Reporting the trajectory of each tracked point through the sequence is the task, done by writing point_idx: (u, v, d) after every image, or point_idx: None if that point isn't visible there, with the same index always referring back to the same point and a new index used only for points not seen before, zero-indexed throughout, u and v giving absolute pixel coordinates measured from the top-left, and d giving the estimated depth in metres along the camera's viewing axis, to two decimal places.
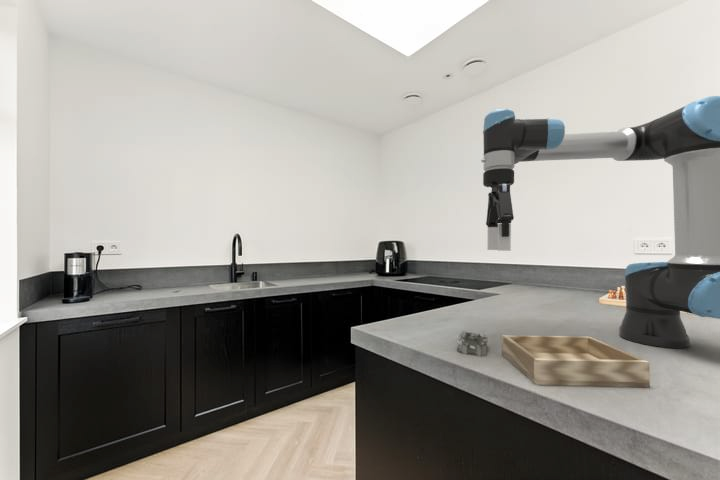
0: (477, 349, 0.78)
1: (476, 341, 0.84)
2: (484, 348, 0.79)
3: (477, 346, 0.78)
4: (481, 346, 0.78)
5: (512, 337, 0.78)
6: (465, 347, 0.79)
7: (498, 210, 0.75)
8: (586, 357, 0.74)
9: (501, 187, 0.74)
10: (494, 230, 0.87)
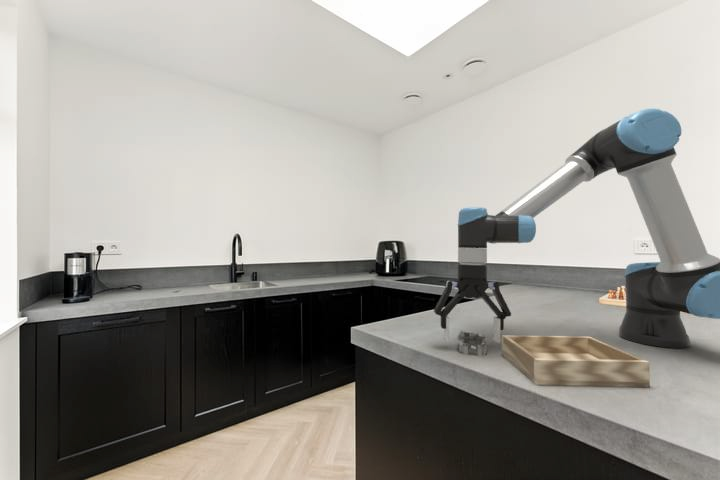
0: (478, 349, 0.78)
1: (475, 341, 0.84)
2: (485, 348, 0.79)
3: (478, 346, 0.78)
4: (482, 346, 0.78)
5: (512, 337, 0.78)
6: (466, 347, 0.79)
7: (448, 303, 0.85)
8: (586, 357, 0.74)
9: (446, 283, 0.85)
10: (496, 321, 0.83)
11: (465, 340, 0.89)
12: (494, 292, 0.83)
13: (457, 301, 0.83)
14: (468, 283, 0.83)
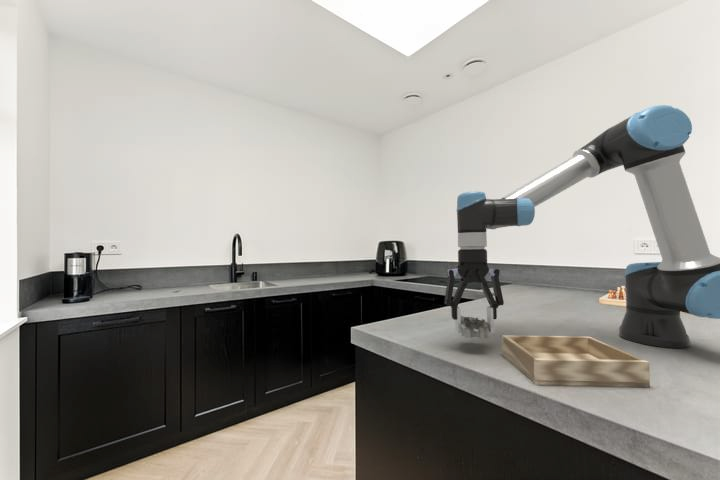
0: (480, 332, 0.78)
1: (476, 325, 0.84)
2: (487, 330, 0.79)
3: (480, 329, 0.78)
4: (484, 328, 0.79)
5: (512, 337, 0.78)
6: (468, 330, 0.79)
7: (455, 293, 0.85)
8: (586, 357, 0.74)
9: (447, 273, 0.85)
10: (489, 311, 0.83)
11: (465, 325, 0.89)
12: (492, 279, 0.83)
13: (463, 288, 0.83)
14: (468, 266, 0.83)
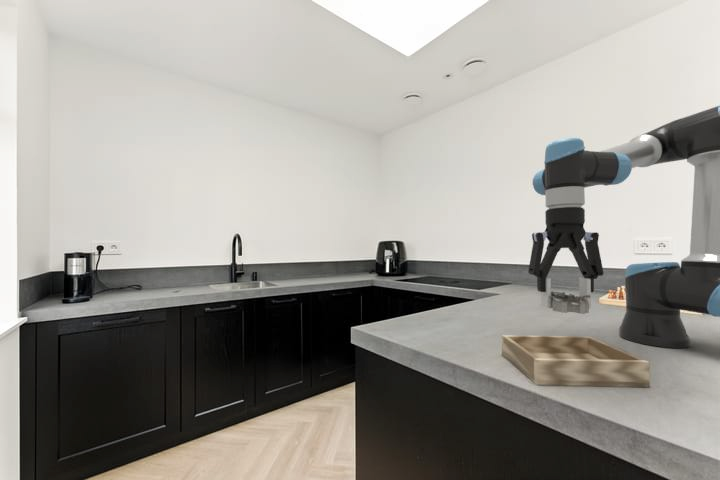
0: (580, 305, 0.65)
1: (567, 299, 0.71)
2: (587, 304, 0.65)
3: (581, 301, 0.65)
4: (585, 301, 0.65)
5: (512, 337, 0.78)
6: (565, 304, 0.65)
7: None
8: (586, 357, 0.74)
9: (533, 237, 0.71)
10: (584, 282, 0.69)
11: None
12: (589, 244, 0.70)
13: (554, 255, 0.69)
14: (560, 228, 0.69)
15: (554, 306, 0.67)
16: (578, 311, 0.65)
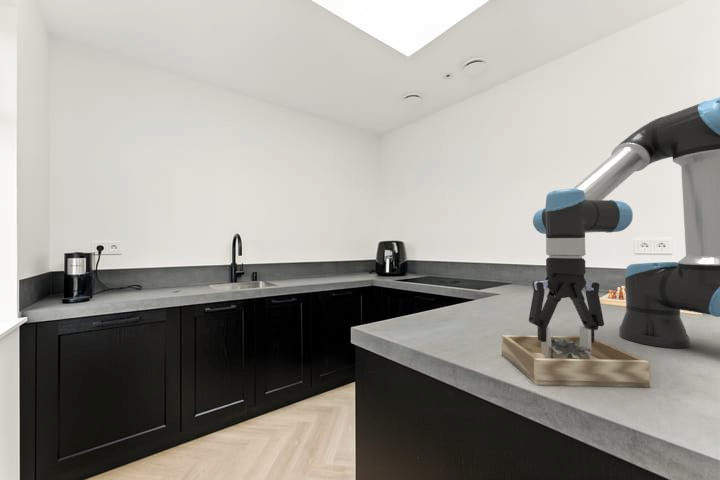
0: None
1: (567, 348, 0.70)
2: (588, 357, 0.65)
3: (581, 355, 0.64)
4: (585, 355, 0.65)
5: (512, 337, 0.78)
6: (565, 357, 0.65)
7: (542, 310, 0.71)
8: None
9: (534, 285, 0.71)
10: (584, 332, 0.69)
11: None
12: (589, 294, 0.70)
13: (554, 305, 0.69)
14: (561, 278, 0.69)
15: (554, 358, 0.67)
16: None
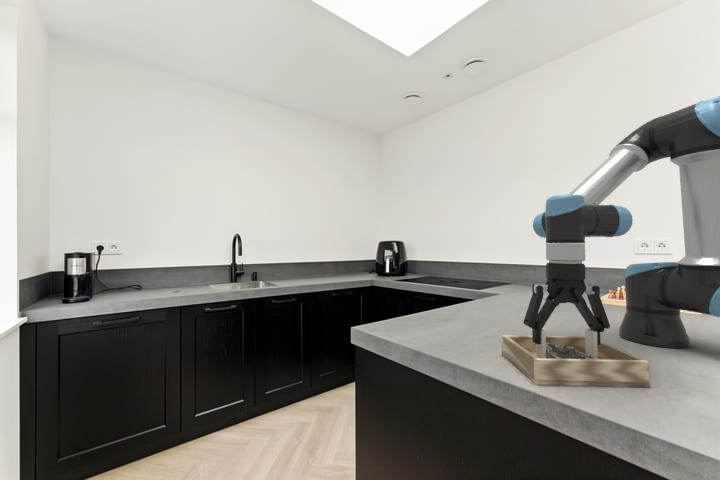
0: None
1: (568, 354, 0.70)
2: None
3: None
4: None
5: (512, 337, 0.78)
6: None
7: None
8: None
9: (533, 288, 0.71)
10: (590, 334, 0.69)
11: None
12: (591, 297, 0.70)
13: (552, 309, 0.69)
14: (562, 284, 0.69)
15: None
16: None
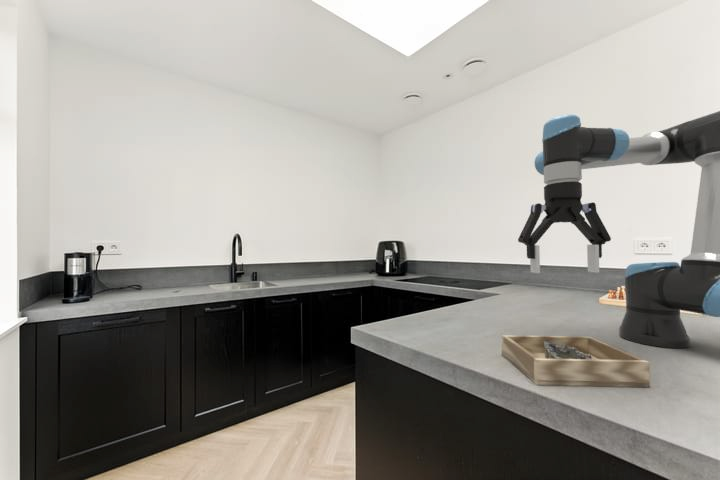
0: None
1: (569, 354, 0.70)
2: None
3: None
4: None
5: (512, 337, 0.78)
6: None
7: (534, 231, 0.74)
8: None
9: (532, 208, 0.73)
10: (592, 248, 0.72)
11: None
12: (589, 215, 0.72)
13: (548, 226, 0.71)
14: (560, 205, 0.71)
15: None
16: None
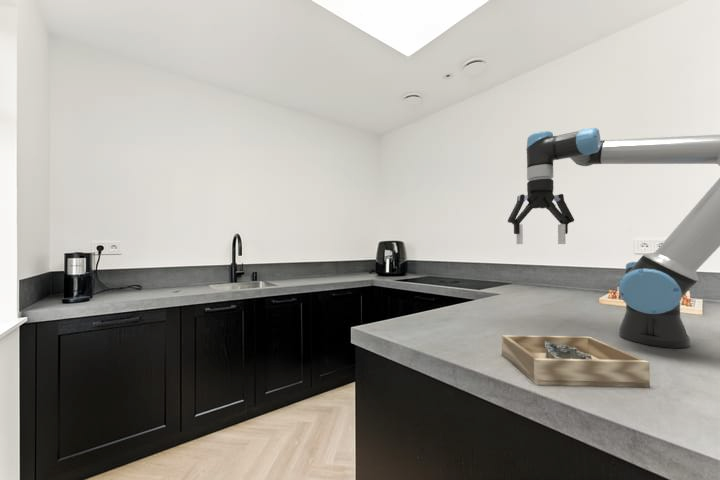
0: None
1: (569, 354, 0.70)
2: None
3: None
4: None
5: (512, 337, 0.78)
6: None
7: None
8: None
9: (518, 198, 1.02)
10: (561, 227, 1.00)
11: None
12: (559, 203, 1.00)
13: (529, 210, 1.00)
14: (538, 195, 1.00)
15: None
16: None
